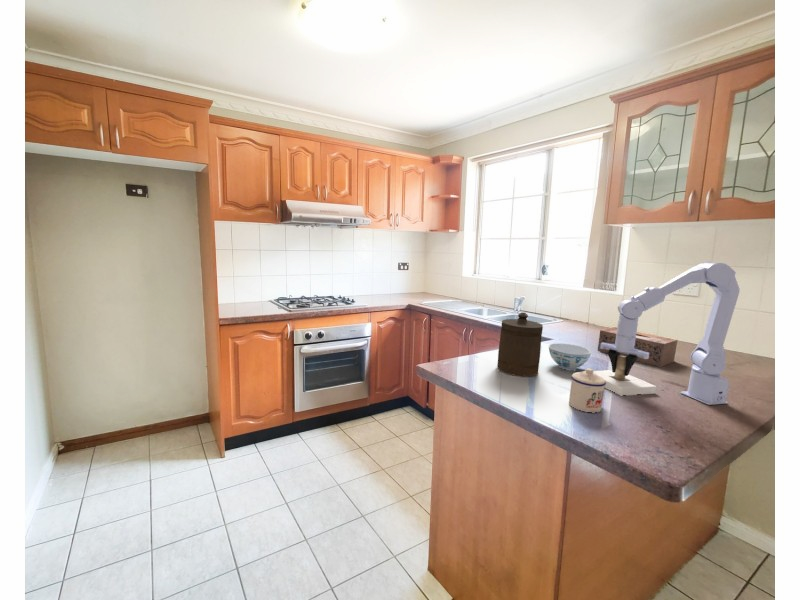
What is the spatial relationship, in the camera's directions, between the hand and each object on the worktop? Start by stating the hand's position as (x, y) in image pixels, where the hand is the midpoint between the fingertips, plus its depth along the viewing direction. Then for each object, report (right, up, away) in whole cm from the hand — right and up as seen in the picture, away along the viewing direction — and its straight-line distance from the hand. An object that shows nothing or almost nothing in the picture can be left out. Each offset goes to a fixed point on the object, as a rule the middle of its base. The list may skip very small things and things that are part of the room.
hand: (620, 373), depth 129 cm
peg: (0, -2, 0) cm, 2 cm away
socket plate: (0, -4, +1) cm, 4 cm away
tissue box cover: (+29, 0, +39) cm, 49 cm away
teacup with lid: (-20, -6, -18) cm, 28 cm away
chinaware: (-11, -1, +17) cm, 20 cm away
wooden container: (-32, -1, +12) cm, 34 cm away
